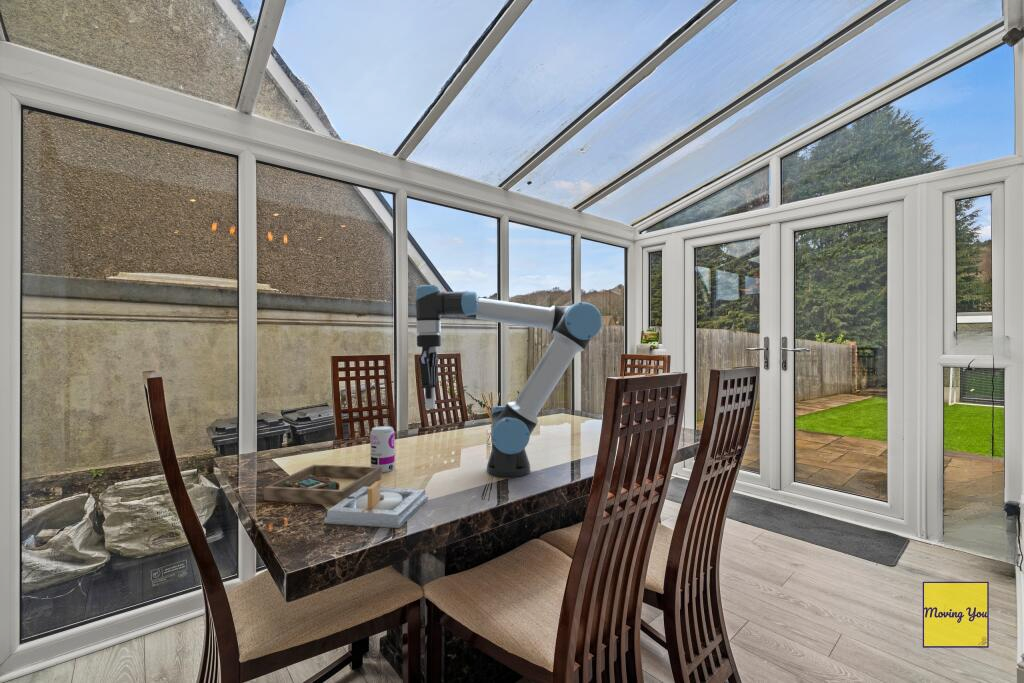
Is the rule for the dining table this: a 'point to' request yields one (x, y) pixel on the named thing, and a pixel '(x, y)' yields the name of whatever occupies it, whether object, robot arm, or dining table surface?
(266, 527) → the dining table surface
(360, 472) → the book tray
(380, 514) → the dial panel
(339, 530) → the dining table surface
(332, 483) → the decorative book
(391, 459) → the supplement can
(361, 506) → the dial
